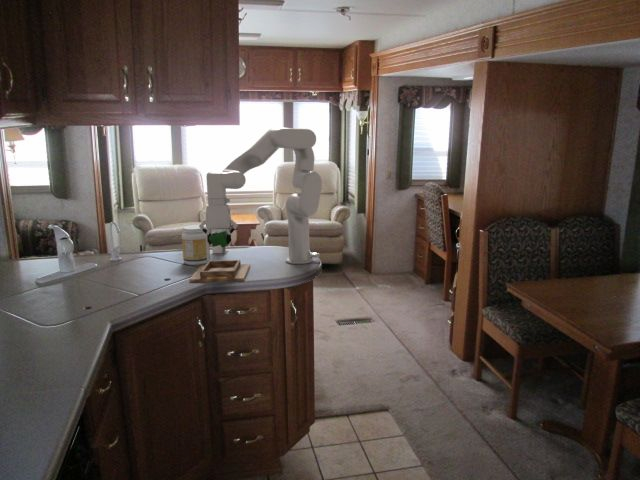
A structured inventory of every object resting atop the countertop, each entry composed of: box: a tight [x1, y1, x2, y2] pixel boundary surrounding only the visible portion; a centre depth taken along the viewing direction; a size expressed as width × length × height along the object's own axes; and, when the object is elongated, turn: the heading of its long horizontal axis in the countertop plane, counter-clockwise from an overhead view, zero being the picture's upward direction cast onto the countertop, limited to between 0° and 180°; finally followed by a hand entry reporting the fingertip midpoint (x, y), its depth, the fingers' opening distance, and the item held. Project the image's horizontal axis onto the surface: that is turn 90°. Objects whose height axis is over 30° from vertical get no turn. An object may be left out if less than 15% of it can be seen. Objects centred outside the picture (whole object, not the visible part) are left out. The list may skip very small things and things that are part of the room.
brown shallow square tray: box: [189, 259, 251, 283], centre depth 210 cm, size 22×22×4 cm
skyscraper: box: [211, 229, 229, 255], centre depth 246 cm, size 8×8×28 cm
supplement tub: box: [181, 224, 211, 266], centre depth 229 cm, size 12×12×17 cm
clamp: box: [209, 229, 229, 248], centre depth 207 cm, size 12×6×9 cm, turn 175°
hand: (219, 243), depth 208 cm, fingers closed on clamp, 7 cm apart
